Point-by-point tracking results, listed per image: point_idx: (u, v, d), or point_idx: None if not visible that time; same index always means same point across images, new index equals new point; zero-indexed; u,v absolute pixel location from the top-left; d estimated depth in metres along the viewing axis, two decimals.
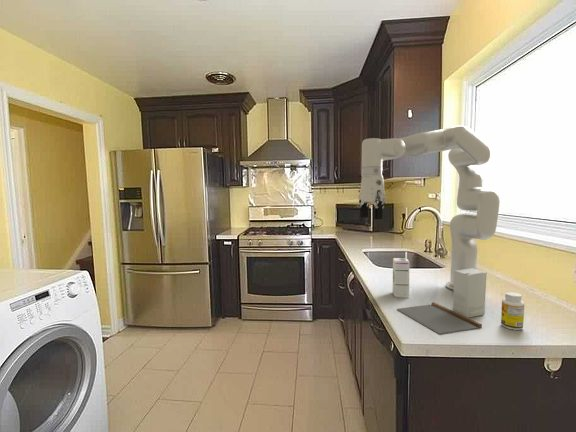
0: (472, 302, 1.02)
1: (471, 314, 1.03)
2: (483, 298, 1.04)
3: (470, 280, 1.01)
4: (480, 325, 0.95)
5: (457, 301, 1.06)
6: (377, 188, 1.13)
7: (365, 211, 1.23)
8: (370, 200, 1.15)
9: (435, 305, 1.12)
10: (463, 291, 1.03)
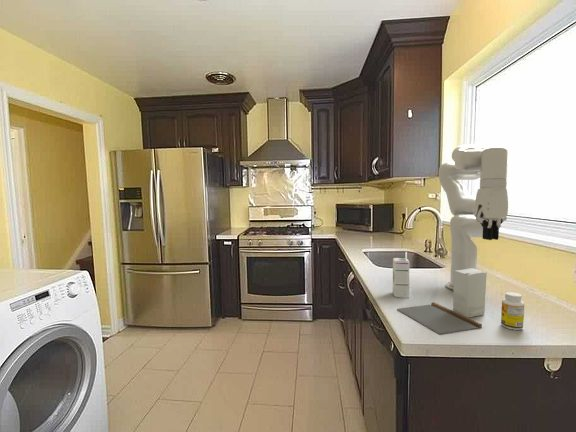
0: (472, 302, 1.02)
1: (471, 314, 1.03)
2: (483, 298, 1.04)
3: (470, 280, 1.01)
4: (480, 325, 0.95)
5: (457, 301, 1.06)
6: None
7: None
8: (503, 215, 1.05)
9: (435, 305, 1.12)
10: (463, 291, 1.03)
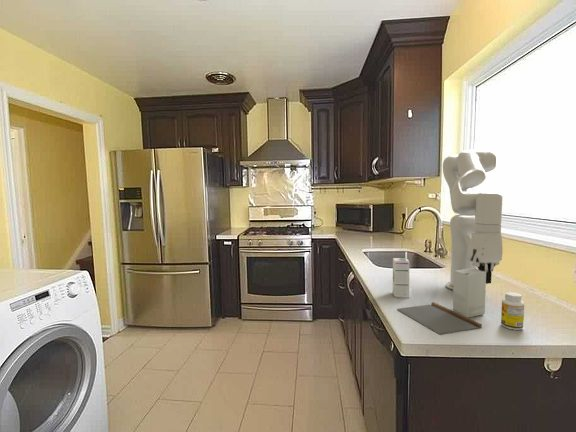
0: (472, 302, 1.02)
1: (471, 314, 1.03)
2: (483, 298, 1.04)
3: (470, 280, 1.01)
4: (480, 325, 0.95)
5: (457, 301, 1.05)
6: None
7: None
8: (498, 260, 1.05)
9: (435, 305, 1.12)
10: (463, 291, 1.03)
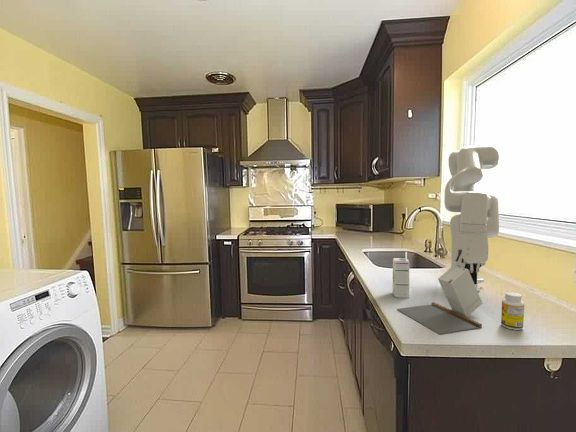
0: (466, 303, 1.01)
1: (470, 312, 1.02)
2: (475, 292, 1.03)
3: (455, 286, 0.99)
4: (480, 325, 0.95)
5: (452, 303, 1.05)
6: None
7: None
8: (483, 260, 1.03)
9: (435, 305, 1.12)
10: (453, 296, 1.02)
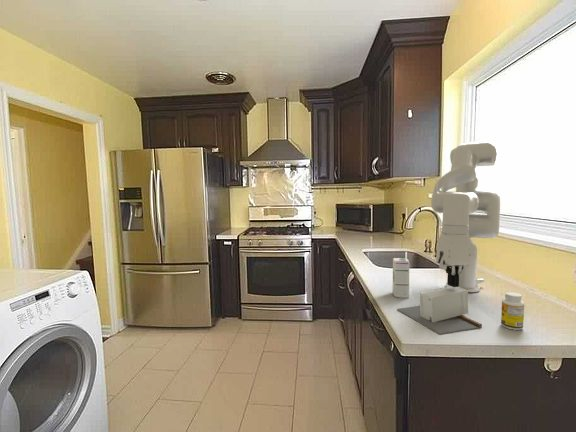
0: (457, 310, 1.00)
1: (466, 308, 1.02)
2: (454, 296, 1.00)
3: (438, 318, 0.98)
4: (480, 325, 0.95)
5: None
6: None
7: None
8: (465, 262, 1.01)
9: None
10: None
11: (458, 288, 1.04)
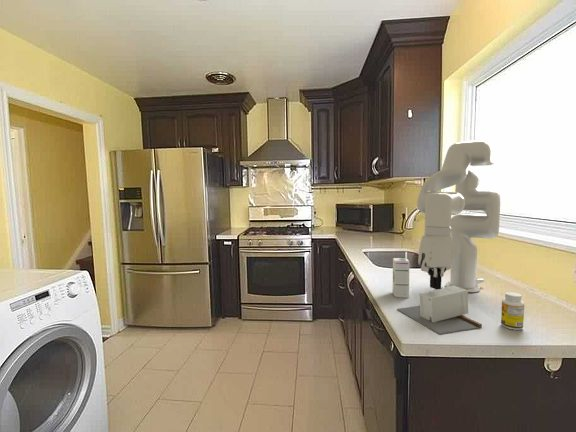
0: (457, 310, 1.00)
1: (466, 308, 1.02)
2: (454, 296, 1.00)
3: (438, 318, 0.98)
4: (480, 325, 0.95)
5: None
6: None
7: None
8: (448, 264, 1.00)
9: None
10: None
11: (458, 288, 1.04)
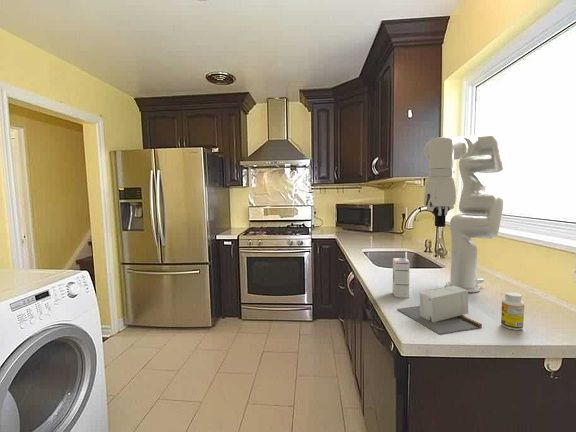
0: (457, 310, 1.00)
1: (466, 308, 1.02)
2: (454, 296, 1.00)
3: (438, 318, 0.98)
4: (480, 325, 0.95)
5: None
6: None
7: None
8: (451, 203, 1.09)
9: None
10: None
11: (458, 288, 1.04)
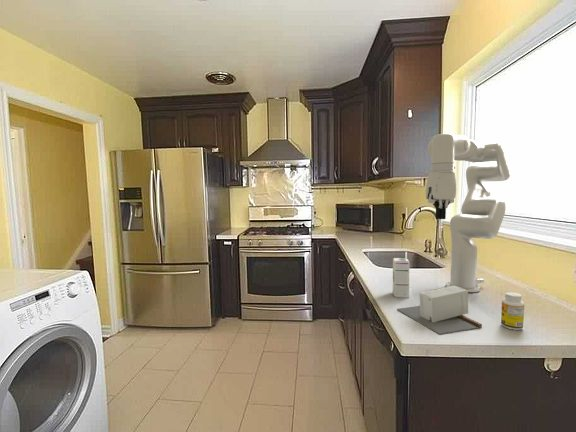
0: (457, 310, 1.00)
1: (466, 308, 1.02)
2: (454, 296, 1.00)
3: (438, 318, 0.98)
4: (480, 325, 0.95)
5: None
6: None
7: None
8: (451, 197, 1.14)
9: None
10: None
11: (458, 288, 1.04)
